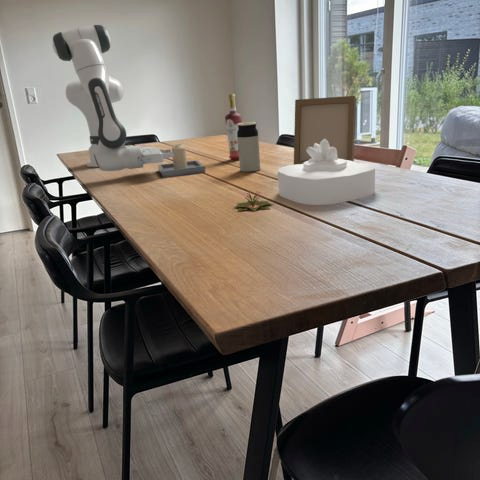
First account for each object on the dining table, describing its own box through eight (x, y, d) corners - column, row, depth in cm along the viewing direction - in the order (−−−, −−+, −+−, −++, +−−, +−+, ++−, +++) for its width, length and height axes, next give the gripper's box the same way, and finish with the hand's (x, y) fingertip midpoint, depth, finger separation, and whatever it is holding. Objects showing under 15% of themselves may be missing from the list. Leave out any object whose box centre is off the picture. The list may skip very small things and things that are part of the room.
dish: (158, 170, 197) (157, 164, 196) (198, 165, 200) (197, 160, 200) (162, 177, 181) (161, 171, 180) (205, 172, 185) (204, 166, 184)
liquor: (248, 158, 209) (243, 93, 200) (239, 161, 204) (234, 94, 195) (234, 157, 213) (229, 94, 204) (225, 160, 208) (219, 95, 198)
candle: (185, 170, 187) (182, 145, 184) (172, 170, 188) (169, 145, 185) (189, 167, 192) (186, 143, 189) (176, 168, 193) (173, 143, 190)
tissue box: (313, 209, 123) (311, 148, 118) (268, 192, 145) (265, 140, 140) (387, 193, 133) (388, 136, 127) (335, 180, 154) (334, 130, 149)
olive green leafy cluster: (232, 204, 136) (230, 189, 134) (273, 201, 136) (272, 185, 134) (231, 215, 124) (230, 199, 123) (276, 212, 124) (275, 195, 123)
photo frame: (351, 168, 168) (351, 96, 161) (293, 168, 177) (291, 100, 169) (358, 161, 181) (358, 94, 174) (303, 162, 190) (301, 98, 182)
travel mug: (262, 168, 184) (259, 121, 178) (257, 172, 176) (253, 123, 171) (243, 168, 186) (240, 122, 180) (237, 172, 179) (233, 124, 173)
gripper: (137, 152, 174) (174, 147, 177) (135, 146, 193) (168, 142, 196) (140, 168, 176) (176, 164, 179) (137, 161, 195) (170, 157, 198)
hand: (172, 152), depth 188 cm, fingers open, 8 cm apart
